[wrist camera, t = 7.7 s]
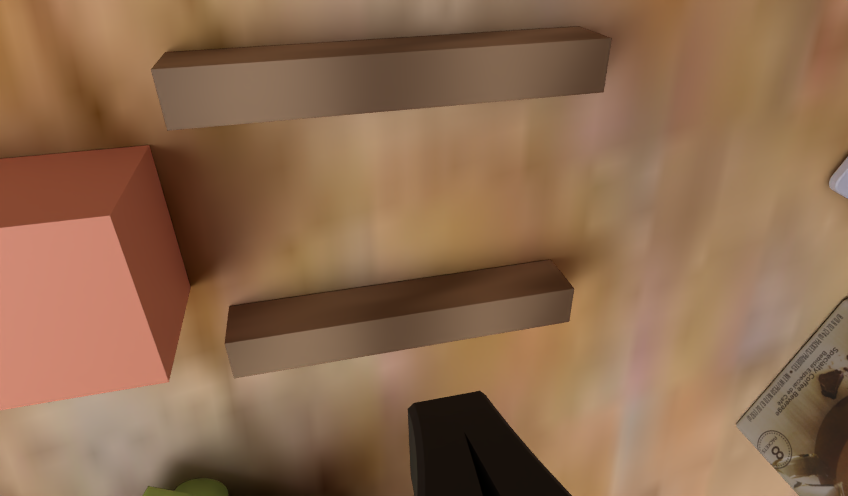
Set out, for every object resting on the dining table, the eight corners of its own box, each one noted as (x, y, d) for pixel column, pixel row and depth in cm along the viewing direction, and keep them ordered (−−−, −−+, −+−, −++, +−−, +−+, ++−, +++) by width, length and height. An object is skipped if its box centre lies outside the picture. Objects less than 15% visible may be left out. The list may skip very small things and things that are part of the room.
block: (149, 145, 16) (109, 215, 12) (190, 287, 18) (168, 382, 15) (-48, 163, 15) (-157, 245, 11) (25, 310, 17) (-44, 417, 14)
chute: (578, 26, 17) (611, 38, 15) (546, 291, 22) (569, 321, 20) (165, 52, 15) (150, 69, 13) (237, 339, 20) (234, 378, 18)
